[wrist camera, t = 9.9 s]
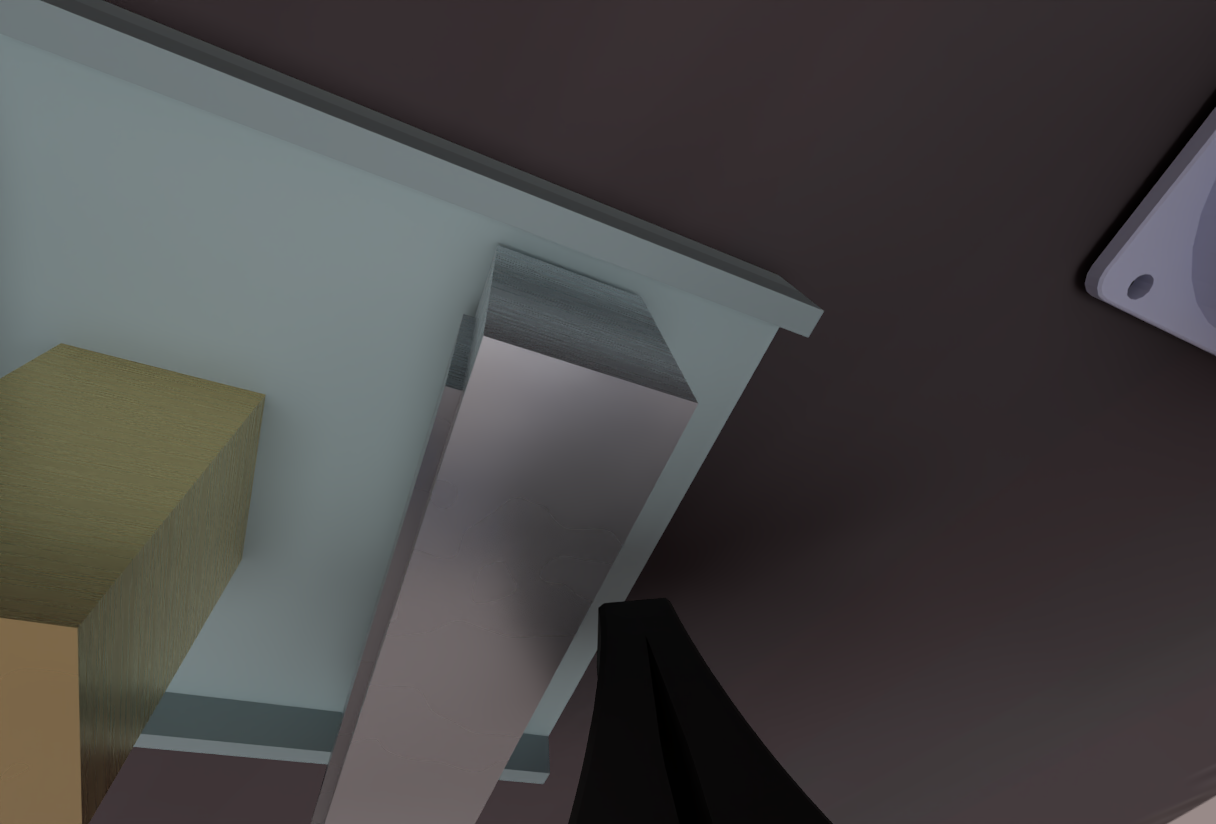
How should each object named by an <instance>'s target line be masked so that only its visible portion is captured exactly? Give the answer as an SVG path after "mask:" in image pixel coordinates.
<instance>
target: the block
mask: <svg viewBox="0 0 1216 824" xmlns="http://www.w3.org/2000/svg"><path fill="white" fill-rule="evenodd" d="M265 396H266V395H265V394H261V393H257V392H253V391H249V390H245V389H242V388H238V387H234V386H230V385H226V384H222V383H218V382H214V381H210V380H206V379H202V378H198V377H194V376H190V375H186V374H182V373H178V372H174V371H170V370H166V369H162V368H158V367H154V366H150V365H146V364H142V363H138V362H134V361H130V360H126V359H122V358H118V357H114V356H110V355H106V354H102V353H98V352H94V351H90V350H86V349H82V348H78V347H74V346H70V345H66V344H62V343H60V344H59V345H57V346H55V347H54V348H52V349H50V350H48V351H47V352H45V353H43V354H41V355H40V356H38V357H36V358H35V359H33V360H31V361H29V362H28V363H26V364H24V365H23V366H21V367H19V368H17V369H16V370H14V371H12V372H10V373H9V374H7V375H5V376H4V377H2V378H0V824H89V822H90V820H91V819H92V817H93V815H94V813H95V812H96V810H97V808H98V807H99V805H100V803H101V801H102V800H103V798H104V796H105V794H106V793H107V791H108V789H109V788H110V786H111V784H112V782H113V781H114V779H115V777H116V776H117V774H118V772H119V770H120V769H121V767H122V765H123V763H124V762H125V760H126V758H127V757H128V755H129V753H130V751H131V750H132V748H133V746H134V745H135V743H136V741H137V739H138V738H139V736H140V734H141V732H142V731H143V729H144V727H145V726H146V724H147V722H148V720H149V719H150V717H151V715H152V714H153V712H154V710H155V708H156V707H157V705H158V703H159V701H160V700H161V698H162V696H163V695H164V693H165V691H166V689H167V688H168V686H169V684H170V683H171V681H172V679H173V677H174V676H175V674H176V672H177V670H178V669H179V667H180V665H181V664H182V662H183V660H184V658H185V657H186V655H187V653H188V652H189V650H190V648H191V646H192V645H193V643H194V641H195V639H196V638H197V636H198V634H199V633H200V631H201V629H202V627H203V626H204V624H205V622H206V621H207V619H208V617H209V615H210V614H211V612H212V610H213V608H214V607H215V605H216V603H217V602H218V600H219V598H220V596H221V595H222V593H223V591H224V590H225V588H226V586H227V584H228V583H229V581H230V579H231V577H232V576H233V574H234V572H235V571H236V569H237V567H238V565H239V564H240V562H241V560H242V555H243V548H244V541H245V534H246V527H247V520H248V514H249V507H250V500H251V493H252V486H253V479H254V472H255V465H256V458H257V451H258V444H259V437H260V430H261V424H262V417H263V410H264V403H265Z"/></svg>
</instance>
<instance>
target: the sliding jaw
mask: <svg viewBox="0 0 1216 824" xmlns="http://www.w3.org/2000/svg"><path fill="white" fill-rule="evenodd" d="M697 405H698V402H697V400H696V398H695V396H694V394H693V393H692V391H691V389H690V387H689V385H688V383H687V381H686V379H685V378H684V376H683V374H682V372H681V370H680V368H679V366H678V364H677V363H676V361H675V359H674V357H673V355H672V353H671V351H670V349H669V348H668V346H667V344H666V342H665V340H664V338H663V336H662V334H661V332H660V331H659V329H658V327H657V325H656V323H655V321H654V319H653V317H652V316H651V314H650V312H649V310H648V308H647V306H646V304H645V302H644V301H643V299H642V297H639V296H637V295H634V294H631V293H628V292H626V291H623V290H620V289H618V288H615V287H612V286H609V285H607V284H604V283H601V282H598V281H596V280H593V279H590V278H587V277H585V276H582V275H579V274H576V273H574V272H571V271H568V270H565V269H563V268H560V267H557V266H554V265H552V264H549V263H546V262H543V261H541V260H538V259H535V258H532V257H530V256H527V255H524V254H521V253H519V252H516V251H513V250H510V249H508V248H505V247H502V246H499V245H497V248H496V251H495V254H494V257H493V260H492V264H491V267H490V270H489V273H488V276H487V280H486V283H485V286H484V289H483V292H482V295H481V299H480V302H479V305H478V308H477V311H476V315H475V317H471V316H468V315H465V314H463V317H462V320H461V323H460V326H459V330H458V333H457V336H456V340H455V343H454V346H453V349H452V353H451V356H450V359H449V363H448V366H447V369H446V373H445V376H444V379H443V382H442V386H441V389H440V392H439V396H438V399H437V402H436V405H435V409H434V412H433V415H432V419H431V422H430V425H429V428H428V432H427V435H426V438H425V442H424V445H423V448H422V452H421V455H420V458H419V461H418V465H417V468H416V471H415V475H414V478H413V481H412V484H411V488H410V491H409V494H408V498H407V501H406V504H405V507H404V511H403V514H402V517H401V521H400V524H399V527H398V531H397V534H396V537H395V540H394V544H393V547H392V550H391V554H390V557H389V560H388V563H387V567H386V570H385V573H384V577H383V580H382V583H381V586H380V590H379V593H378V596H377V600H376V603H375V606H374V610H373V613H372V616H371V619H370V623H369V626H368V629H367V633H366V636H365V639H364V642H363V646H362V649H361V652H360V656H359V659H358V662H357V665H356V669H355V672H354V675H353V679H352V682H351V685H350V689H349V692H348V695H347V698H346V702H345V705H344V708H343V712H342V715H341V718H340V722H339V726H338V729H337V733H336V736H335V740H334V743H333V747H332V750H331V754H330V757H329V761H328V764H327V768H326V771H325V775H324V778H323V782H322V785H321V789H320V792H319V796H318V799H317V803H316V806H315V810H314V813H313V817H312V821H311V824H475V823H476V821H477V819H478V817H479V815H480V813H481V811H482V809H483V808H484V806H485V804H486V802H487V800H488V798H489V796H490V794H491V793H492V791H493V789H494V787H495V785H496V783H497V781H498V779H499V777H500V776H501V774H502V772H503V770H504V768H505V766H506V764H507V762H508V761H509V759H510V757H511V755H512V753H513V751H514V749H515V747H516V746H517V744H518V742H519V740H520V738H521V736H522V734H523V732H524V730H525V729H526V727H527V725H528V723H529V721H530V719H531V717H532V715H533V714H534V712H535V710H536V708H537V706H538V704H539V702H540V700H541V699H542V697H543V695H544V693H545V691H546V689H547V687H548V685H549V683H550V682H551V680H552V678H553V676H554V674H555V672H556V670H557V668H558V667H559V665H560V663H561V661H562V659H563V657H564V655H565V653H566V651H567V650H568V648H569V646H570V644H571V642H572V640H573V638H574V636H575V635H576V633H577V631H578V629H579V627H580V625H581V623H582V621H583V620H584V618H585V616H586V614H587V612H588V610H589V608H590V606H591V604H592V603H593V601H594V599H595V597H596V595H597V593H598V591H599V589H600V588H601V586H602V584H603V582H604V580H605V578H606V576H607V574H608V573H609V571H610V569H611V567H612V565H613V563H614V561H615V559H616V557H617V556H618V554H619V552H620V550H621V548H622V546H623V544H624V542H625V541H626V539H627V537H628V535H629V533H630V531H631V529H632V527H633V526H634V524H635V522H636V520H637V518H638V516H639V514H640V512H641V510H642V509H643V507H644V505H645V503H646V501H647V499H648V497H649V495H650V494H651V492H652V490H653V488H654V486H655V484H656V482H657V480H658V478H659V477H660V475H661V473H662V471H663V469H664V467H665V465H666V463H667V462H668V460H669V458H670V456H671V454H672V452H673V450H674V448H675V447H676V445H677V443H678V441H679V439H680V437H681V435H682V433H683V431H684V430H685V428H686V426H687V424H688V422H689V420H690V418H691V416H692V415H693V413H694V411H695V409H696V407H697Z"/></svg>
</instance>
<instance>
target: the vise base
mask: <svg viewBox="0 0 1216 824" xmlns="http://www.w3.org/2000/svg"><path fill="white" fill-rule="evenodd" d="M497 245H499V246H502V247H505V248H508V249H510V250H513V251H516V252H519V253H521V254H524V255H527V256H530V257H532V258H535V259H538V260H541V261H543V262H546V263H549V264H552V265H554V266H557V267H560V268H563V269H565V270H568V271H571V272H574V273H576V274H579V275H582V276H585V277H587V278H590V279H593V280H596V281H598V282H601V283H604V284H607V285H609V286H612V287H615V288H618V289H620V290H623V291H626V292H628V293H631V294H634V295H637V296H639V297H642V299H643V301H644V302H645V304H646V306H647V308H648V310H649V312H650V314H651V316H652V317H653V319H654V321H655V323H656V325H657V327H658V329H659V331H660V332H661V334H662V336H663V338H664V340H665V342H666V344H667V346H668V348H669V349H670V351H671V353H672V355H673V357H674V359H675V361H676V363H677V364H678V366H679V368H680V370H681V372H682V374H683V376H684V378H685V379H686V381H687V383H688V385H689V387H690V389H691V391H692V393H693V394H694V396H695V398H696V400H697V402H698V405H697V407H696V409H695V411H694V413H693V415H692V416H691V418H690V420H689V422H688V424H687V426H686V428H685V430H684V431H683V433H682V435H681V437H680V439H679V441H678V443H677V445H676V447H675V448H674V450H673V452H672V454H671V456H670V458H669V460H668V462H667V463H666V465H665V467H664V469H663V471H662V473H661V475H660V477H659V478H658V480H657V482H656V484H655V486H654V488H653V490H652V492H651V494H650V495H649V497H648V499H647V501H646V503H645V505H644V507H643V509H642V510H641V512H640V514H639V516H638V518H637V520H636V522H635V524H634V526H633V527H632V529H631V531H630V533H629V535H628V537H627V539H626V541H625V542H624V544H623V546H622V548H621V550H620V552H619V554H618V556H617V557H616V559H615V561H614V563H613V565H612V567H611V569H610V571H609V573H608V574H607V576H606V578H605V580H604V582H603V584H602V586H601V588H600V589H599V591H598V593H597V595H596V597H595V599H594V601H593V603H592V604H591V606H590V608H589V610H588V612H587V614H586V616H585V618H584V620H583V621H582V623H581V625H580V627H579V629H578V631H577V633H576V635H575V636H574V638H573V640H572V642H571V644H570V646H569V648H568V650H567V651H566V653H565V655H564V657H563V659H562V661H561V663H560V665H559V667H558V668H557V670H556V672H555V674H554V676H553V678H552V680H551V682H550V683H549V685H548V687H547V689H546V691H545V693H544V695H543V697H542V699H541V700H540V702H539V704H538V706H537V708H536V710H535V712H534V714H533V715H532V717H531V719H530V721H529V723H528V725H527V727H526V729H525V730H524V732H523V734H522V736H521V738H520V740H519V742H518V744H517V746H516V747H515V749H514V751H513V753H512V755H511V757H510V759H509V761H508V762H507V764H506V766H505V768H504V770H503V772H502V774H501V776H500V777H499V779H498V780H505V781H516V782H527V783H538V784H544V782H545V781H546V779H547V777H548V775H549V774H550V768H549V741H548V736H549V734H550V732H551V731H552V729H553V727H554V725H555V724H556V722H557V720H558V718H559V716H560V715H561V713H562V711H563V709H564V708H565V706H566V704H567V702H568V701H569V699H570V697H571V695H572V693H573V692H574V690H575V688H576V686H577V685H578V683H579V681H580V679H581V677H582V676H583V674H584V672H585V670H586V669H587V667H588V665H589V663H590V662H591V660H592V658H593V656H594V654H595V653H596V651H597V644H598V608H599V607H600V606H601V605H602V604H604V603H610V602H622V601H625V600H626V598H627V596H628V594H629V592H630V591H631V589H632V587H633V585H634V584H635V582H636V580H637V578H638V577H639V575H640V573H641V571H642V569H643V568H644V566H645V564H646V562H647V561H648V559H649V557H650V555H651V554H652V552H653V550H654V548H655V546H656V545H657V543H658V541H659V539H660V538H661V536H662V534H663V532H664V531H665V529H666V527H667V525H668V523H669V522H670V520H671V518H672V516H673V515H674V513H675V511H676V509H677V507H678V506H679V504H680V502H681V500H682V499H683V497H684V495H685V493H686V492H687V490H688V488H689V486H690V484H691V483H692V481H693V479H694V477H695V476H696V474H697V472H698V470H699V469H700V467H701V465H702V463H703V461H704V460H705V458H706V456H707V454H708V453H709V451H710V449H711V447H712V445H713V444H714V442H715V440H716V438H717V437H718V435H719V433H720V431H721V430H722V428H723V426H724V424H725V422H726V421H727V419H728V417H729V415H730V414H731V412H732V410H733V408H734V407H735V405H736V403H737V401H738V399H739V398H740V396H741V394H742V392H743V391H744V389H745V387H746V385H747V384H748V382H749V380H750V378H751V376H752V375H753V373H754V371H755V369H756V368H757V366H758V364H759V362H760V360H761V359H762V357H763V355H764V353H765V352H766V350H767V348H768V346H769V345H770V343H771V341H772V339H773V337H774V336H775V334H776V332H777V330H778V329H779V327H781V328H784V329H787V330H789V331H792V332H795V333H797V334H800V335H803V336H805V337H809V336H810V334H811V332H812V330H813V329H814V327H815V325H816V324H817V322H818V320H819V319H820V317H821V315H822V314H823V312H824V310H822V309H821V308H820V307H819V306H817V305H816V304H815V303H813V302H812V301H811V300H810V299H808V298H807V297H806V296H804V295H803V294H802V293H801V292H799V291H798V290H797V289H796V288H794V287H793V286H792V285H790V284H789V283H788V282H787V281H785V280H784V279H783V278H782V277H780V276H779V275H777V274H775V273H772V272H770V271H767V270H765V269H762V268H760V267H757V266H755V265H752V264H750V263H747V262H745V261H743V260H740V259H738V258H735V257H733V256H730V255H728V254H725V253H723V252H720V251H718V250H716V249H713V248H711V247H708V246H706V245H703V244H701V243H698V242H696V241H693V240H691V239H688V238H686V237H684V236H681V235H679V234H676V233H674V232H671V231H669V230H666V229H664V228H661V227H659V226H657V225H654V224H652V223H649V222H647V221H644V220H642V219H639V218H637V217H634V216H632V215H630V214H627V213H625V212H622V211H620V210H617V209H615V208H612V207H610V206H607V205H605V204H602V203H600V202H598V201H595V200H593V199H590V198H588V197H585V196H583V195H580V194H578V193H575V192H573V191H571V190H568V189H566V188H563V187H561V186H558V185H556V184H553V183H551V182H548V181H546V180H543V179H541V178H539V177H536V176H534V175H531V174H529V173H526V172H524V171H521V170H519V169H516V168H514V167H512V166H509V165H507V164H504V163H502V162H499V161H497V160H494V159H492V158H489V157H487V156H484V155H482V154H480V153H477V152H475V151H472V150H470V149H467V148H465V147H462V146H460V145H457V144H455V143H453V142H450V141H448V140H445V139H443V138H440V137H438V136H435V135H433V134H430V133H428V132H425V131H423V130H421V129H418V128H416V127H413V126H411V125H408V124H406V123H403V122H401V121H398V120H396V119H394V118H391V117H389V116H386V115H384V114H381V113H379V112H376V111H374V110H371V109H369V108H366V107H364V106H362V105H359V104H357V103H354V102H352V101H349V100H347V99H344V98H342V97H339V96H337V95H335V94H332V93H330V92H327V91H325V90H322V89H320V88H317V87H315V86H312V85H310V84H307V83H305V82H303V81H300V80H298V79H295V78H293V77H290V76H288V75H285V74H283V73H280V72H278V71H276V70H273V69H271V68H268V67H266V66H263V65H261V64H258V63H256V62H253V61H251V60H248V59H246V58H244V57H241V56H239V55H236V54H234V53H231V52H229V51H226V50H224V49H221V48H219V47H217V46H214V45H212V44H209V43H207V42H204V41H202V40H199V39H197V38H194V37H192V36H189V35H187V34H185V33H182V32H180V31H177V30H175V29H172V28H170V27H167V26H165V25H162V24H160V23H158V22H155V21H153V20H150V19H148V18H145V17H143V16H140V15H138V14H135V13H133V12H130V11H128V10H126V9H123V8H121V7H118V6H116V5H113V4H111V3H108V2H106V1H103V0H0V378H2V377H4V376H5V375H7V374H9V373H10V372H12V371H14V370H16V369H17V368H19V367H21V366H23V365H24V364H26V363H28V362H29V361H31V360H33V359H35V358H36V357H38V356H40V355H41V354H43V353H45V352H47V351H48V350H50V349H52V348H54V347H55V346H57V345H59V344H60V343H62V344H66V345H70V346H74V347H78V348H82V349H86V350H90V351H94V352H98V353H102V354H106V355H110V356H114V357H118V358H122V359H126V360H130V361H134V362H138V363H142V364H146V365H150V366H154V367H158V368H162V369H166V370H170V371H174V372H178V373H182V374H186V375H190V376H194V377H198V378H202V379H206V380H210V381H214V382H218V383H222V384H226V385H230V386H234V387H238V388H242V389H245V390H249V391H253V392H257V393H261V394H265V395H266V396H265V403H264V410H263V417H262V424H261V430H260V437H259V444H258V451H257V458H256V465H255V472H254V479H253V486H252V493H251V500H250V507H249V514H248V520H247V527H246V534H245V541H244V548H243V555H242V560H241V562H240V564H239V565H238V567H237V569H236V571H235V572H234V574H233V576H232V577H231V579H230V581H229V583H228V584H227V586H226V588H225V590H224V591H223V593H222V595H221V596H220V598H219V600H218V602H217V603H216V605H215V607H214V608H213V610H212V612H211V614H210V615H209V617H208V619H207V621H206V622H205V624H204V626H203V627H202V629H201V631H200V633H199V634H198V636H197V638H196V639H195V641H194V643H193V645H192V646H191V648H190V650H189V652H188V653H187V655H186V657H185V658H184V660H183V662H182V664H181V665H180V667H179V669H178V670H177V672H176V674H175V676H174V677H173V679H172V681H171V683H170V684H169V686H168V688H167V689H166V691H165V693H164V695H163V696H162V698H161V700H160V701H159V703H158V705H157V707H156V708H155V710H154V712H153V714H152V715H151V717H150V719H149V720H148V722H147V724H146V726H145V727H144V729H143V731H142V732H141V734H140V736H139V738H138V739H137V741H136V743H135V745H134V746H133V747H143V748H153V749H164V750H175V751H186V752H197V753H208V754H219V755H230V756H241V757H252V758H263V759H274V760H285V761H296V762H307V763H318V764H328V761H329V757H330V754H331V750H332V747H333V743H334V740H335V736H336V733H337V729H338V726H339V722H340V718H341V715H342V712H343V708H344V705H345V702H346V698H347V695H348V692H349V689H350V685H351V682H352V679H353V675H354V672H355V669H356V665H357V662H358V659H359V656H360V652H361V649H362V646H363V642H364V639H365V636H366V633H367V629H368V626H369V623H370V619H371V616H372V613H373V610H374V606H375V603H376V600H377V596H378V593H379V590H380V586H381V583H382V580H383V577H384V573H385V570H386V567H387V563H388V560H389V557H390V554H391V550H392V547H393V544H394V540H395V537H396V534H397V531H398V527H399V524H400V521H401V517H402V514H403V511H404V507H405V504H406V501H407V498H408V494H409V491H410V488H411V484H412V481H413V478H414V475H415V471H416V468H417V465H418V461H419V458H420V455H421V452H422V448H423V445H424V442H425V438H426V435H427V432H428V428H429V425H430V422H431V419H432V415H433V412H434V409H435V405H436V402H437V399H438V396H439V392H440V389H441V386H442V382H443V379H444V376H445V373H446V369H447V366H448V363H449V359H450V356H451V353H452V349H453V346H454V343H455V340H456V336H457V333H458V330H459V326H460V323H461V320H462V317H463V314H465V315H468V316H471V317H475V315H476V311H477V308H478V305H479V302H480V299H481V295H482V292H483V289H484V286H485V283H486V280H487V276H488V273H489V270H490V267H491V264H492V260H493V257H494V254H495V251H496V248H497Z"/></svg>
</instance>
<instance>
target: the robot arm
mask: <svg viewBox="0 0 1216 824" xmlns="http://www.w3.org/2000/svg"><path fill="white" fill-rule="evenodd" d="M1133 281H1134V282H1133ZM1132 282H1133V284H1132V285H1131V283H1132ZM1130 285H1131V286H1130ZM1129 286H1130V287H1129ZM1085 287H1086V291H1087V292H1088V293H1089V294H1090V295H1091V296H1093V297H1095V298H1097V299H1099V300H1101V301H1103V302H1105V303H1107V304H1109V305H1111V306H1113V307H1115V308H1118V309H1120V310H1122V311H1124V312H1126V313H1128V314H1130V315H1132V316H1134V317H1136V318H1138V319H1140V320H1142V321H1144V322H1146V323H1148V324H1151V325H1153V326H1155V327H1157V328H1159V329H1161V330H1163V331H1165V332H1167V333H1169V334H1171V335H1173V336H1175V337H1177V338H1179V339H1181V340H1184V341H1186V342H1188V343H1190V344H1192V345H1194V346H1196V347H1198V348H1200V349H1202V350H1204V351H1206V352H1208V353H1210V354H1212V355H1214V356H1216V107H1215V108H1214V110H1213V111H1212V112H1211V113H1210V115H1209V116H1208V117H1207V119H1206V120H1205V121H1204V122H1203V124H1202V125H1201V126H1200V128H1199V129H1198V130H1197V131H1196V133H1195V134H1194V135H1193V137H1192V138H1191V139H1190V140H1189V142H1188V143H1187V144H1186V145H1185V147H1184V148H1183V149H1182V151H1181V152H1180V153H1179V154H1178V156H1177V157H1176V158H1175V160H1174V161H1173V162H1172V163H1171V165H1170V166H1169V167H1168V169H1167V170H1166V171H1165V172H1164V174H1163V175H1162V176H1161V178H1160V179H1159V180H1158V181H1157V183H1156V184H1155V185H1154V186H1153V188H1152V189H1151V190H1150V192H1149V193H1148V194H1147V195H1146V197H1145V198H1144V199H1143V201H1142V202H1141V203H1140V204H1139V206H1138V207H1137V208H1136V210H1135V211H1134V212H1133V213H1132V215H1131V216H1130V217H1129V219H1128V220H1127V221H1126V222H1125V224H1124V225H1123V226H1122V228H1121V229H1120V230H1119V231H1118V233H1117V234H1116V235H1115V236H1114V238H1113V239H1112V240H1111V242H1110V243H1109V244H1108V245H1107V247H1106V248H1105V249H1104V251H1103V252H1102V253H1101V254H1100V256H1099V257H1098V258H1097V260H1096V261H1095V262H1094V263H1093V265H1092V266H1091V268H1090V270H1089V271H1088V273H1087V276H1086V280H1085ZM597 675H598V682H597V689H596V697H595V704H594V711H593V717H592V722H591V727H590V732H589V737H588V742H587V748H586V753H585V758H584V762H583V767H582V771H581V775H580V780H579V784H578V788H577V792H576V796H575V800H574V804H573V808H572V812H571V815H570V819H569V823H568V824H833V823H832V822H831V821H830V820H829V819H828V818H827V817H826V816H825V815H824V814H823V813H822V811H821V810H820V809H819V808H818V807H817V806H816V805H815V804H814V803H813V802H812V800H811V799H810V798H809V797H808V796H807V795H806V794H805V793H804V792H803V790H802V789H801V788H800V787H799V786H798V785H797V783H796V782H795V781H794V780H793V779H792V778H791V776H790V775H789V774H788V773H787V772H786V771H785V769H784V768H783V767H782V766H781V765H780V763H779V762H778V761H777V760H776V759H775V757H774V756H773V755H772V754H771V752H770V751H769V750H768V749H767V747H766V746H765V745H764V744H763V742H762V741H761V740H760V738H759V737H758V736H757V734H756V733H755V732H754V731H753V729H752V728H751V727H750V725H749V724H748V723H747V721H746V720H745V719H744V717H743V716H742V715H741V713H740V712H739V710H738V709H737V708H736V706H735V705H734V704H733V702H732V701H731V699H730V698H729V696H728V695H727V693H726V692H725V691H724V689H723V688H722V686H721V685H720V683H719V682H718V680H717V679H716V678H715V676H714V675H713V673H712V672H711V670H710V669H709V667H708V665H707V664H706V662H705V661H704V659H703V658H702V656H701V654H700V653H699V651H698V650H697V648H696V646H695V645H694V643H693V642H692V640H691V638H690V636H689V635H688V633H687V631H686V630H685V628H684V626H683V624H682V623H681V621H680V619H679V617H678V615H677V613H676V612H675V610H674V608H673V606H672V604H671V602H670V601H669V600H668V599H666V598H659V599H647V600H635V601H622V602H610V603H604V604H602V605H601V606H600V607H599V608H598V644H597Z"/></svg>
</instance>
